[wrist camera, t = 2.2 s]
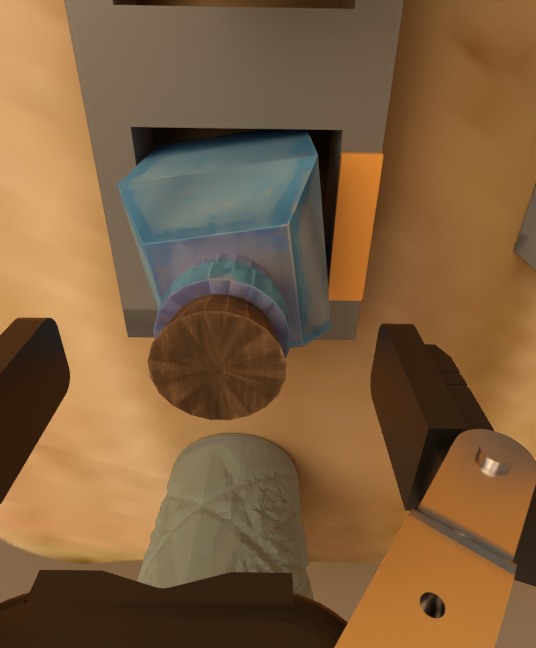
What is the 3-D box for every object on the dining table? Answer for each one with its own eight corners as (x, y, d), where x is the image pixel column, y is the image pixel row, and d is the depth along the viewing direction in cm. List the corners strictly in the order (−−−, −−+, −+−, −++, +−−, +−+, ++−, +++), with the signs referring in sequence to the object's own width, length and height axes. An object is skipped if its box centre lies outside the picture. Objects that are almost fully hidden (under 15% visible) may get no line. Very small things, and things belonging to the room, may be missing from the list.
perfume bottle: (158, 144, 19) (31, 265, 9) (303, 122, 18) (346, 222, 8) (192, 274, 22) (128, 471, 12) (316, 259, 22) (358, 449, 12)
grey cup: (334, 456, 29) (369, 675, 19) (265, 535, 34) (264, 744, 24) (191, 404, 27) (144, 624, 17) (139, 498, 32) (78, 712, 22)
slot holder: (28, -418, 11) (-50, -566, 9) (434, -410, 11) (487, -553, 9) (143, 304, 23) (126, 340, 20) (345, 307, 23) (356, 343, 20)
